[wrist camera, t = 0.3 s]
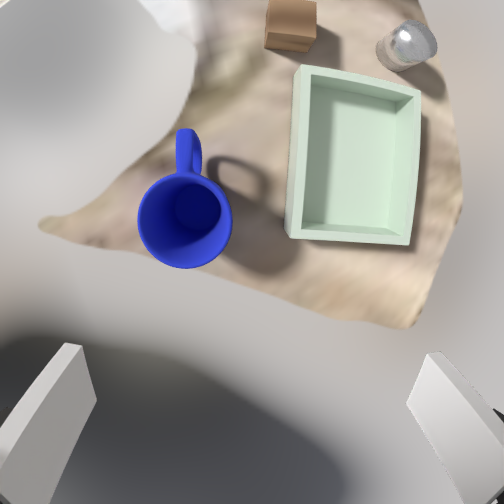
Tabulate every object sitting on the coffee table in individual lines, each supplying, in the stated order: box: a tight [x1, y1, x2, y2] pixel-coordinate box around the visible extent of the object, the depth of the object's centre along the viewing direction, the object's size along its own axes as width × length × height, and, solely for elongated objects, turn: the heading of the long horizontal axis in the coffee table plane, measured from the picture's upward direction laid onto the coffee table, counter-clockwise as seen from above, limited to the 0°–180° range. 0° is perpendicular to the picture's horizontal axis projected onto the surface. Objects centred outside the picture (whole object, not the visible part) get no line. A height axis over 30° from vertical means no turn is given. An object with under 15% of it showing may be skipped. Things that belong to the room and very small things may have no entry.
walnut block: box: [264, 0, 316, 53], centre depth 27 cm, size 5×5×5 cm
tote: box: [284, 64, 421, 245], centre depth 31 cm, size 18×14×5 cm
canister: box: [376, 20, 437, 72], centre depth 27 cm, size 5×5×7 cm
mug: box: [137, 128, 233, 269], centre depth 30 cm, size 8×12×10 cm
